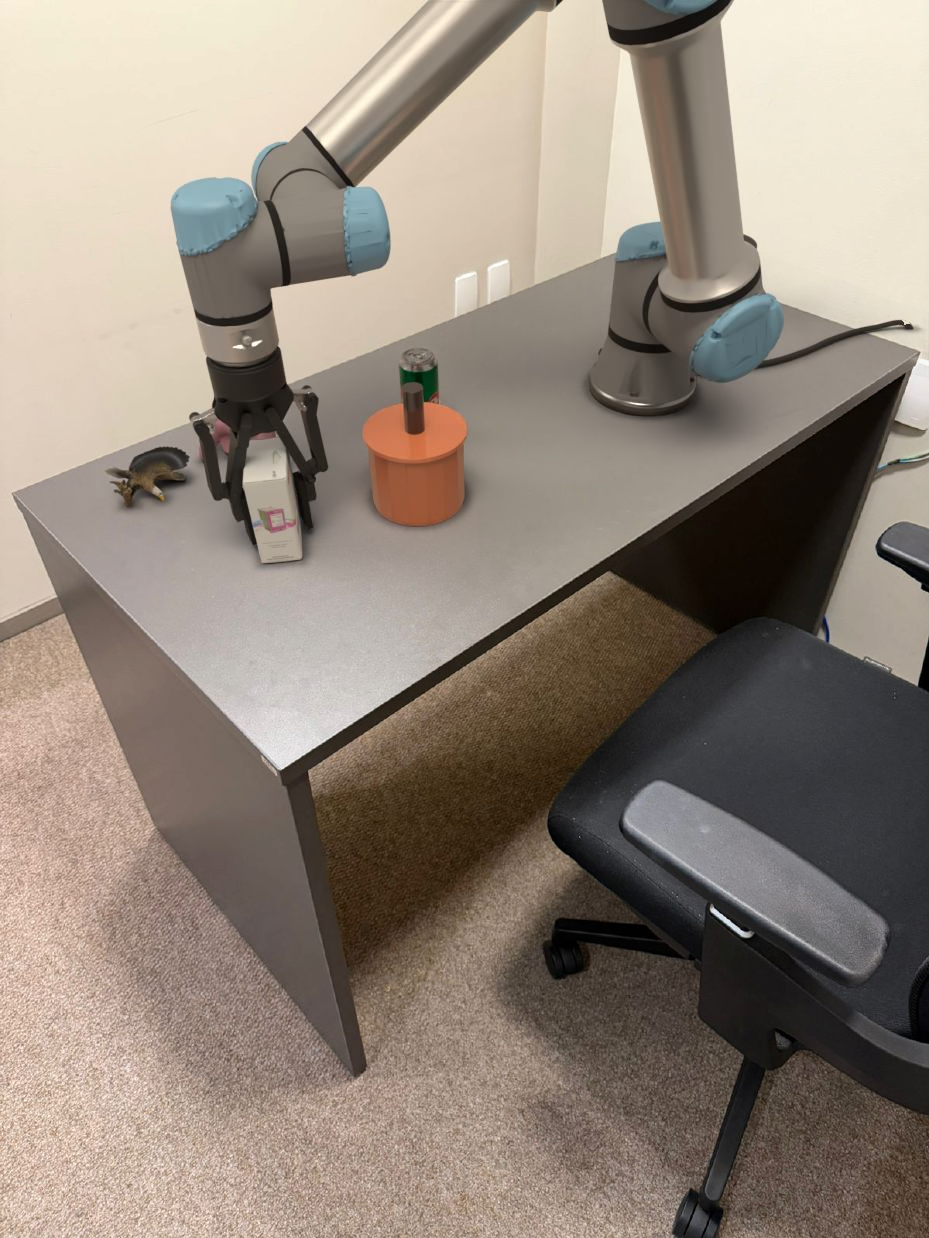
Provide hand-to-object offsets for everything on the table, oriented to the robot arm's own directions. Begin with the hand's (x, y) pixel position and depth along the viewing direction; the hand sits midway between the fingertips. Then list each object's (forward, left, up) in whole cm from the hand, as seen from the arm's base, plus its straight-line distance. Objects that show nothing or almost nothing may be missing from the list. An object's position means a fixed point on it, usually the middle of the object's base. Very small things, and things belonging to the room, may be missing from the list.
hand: (280, 530), depth 103 cm
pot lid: (-18, 0, +8) cm, 20 cm away
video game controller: (0, -19, -1) cm, 19 cm away
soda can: (-24, -13, -1) cm, 27 cm away
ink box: (0, 0, -1) cm, 1 cm away
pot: (-18, 0, -1) cm, 18 cm away
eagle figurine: (+12, -16, -1) cm, 20 cm away
